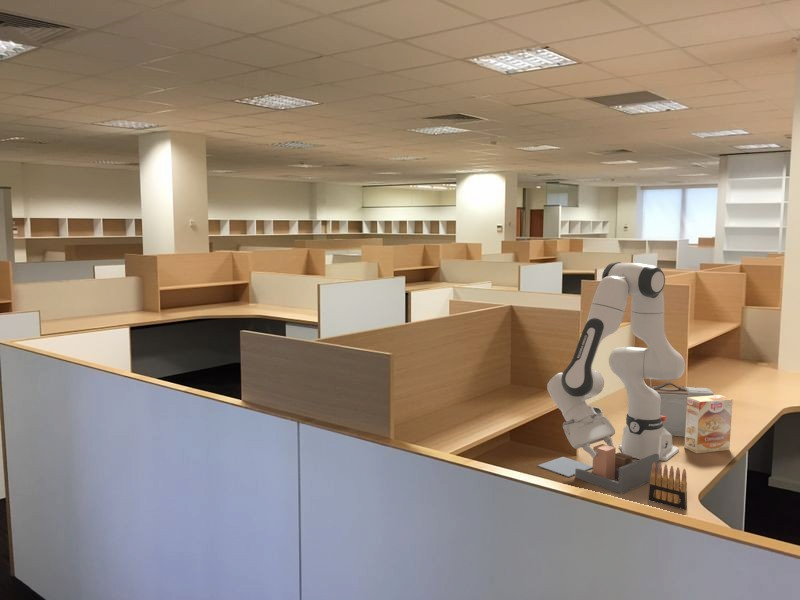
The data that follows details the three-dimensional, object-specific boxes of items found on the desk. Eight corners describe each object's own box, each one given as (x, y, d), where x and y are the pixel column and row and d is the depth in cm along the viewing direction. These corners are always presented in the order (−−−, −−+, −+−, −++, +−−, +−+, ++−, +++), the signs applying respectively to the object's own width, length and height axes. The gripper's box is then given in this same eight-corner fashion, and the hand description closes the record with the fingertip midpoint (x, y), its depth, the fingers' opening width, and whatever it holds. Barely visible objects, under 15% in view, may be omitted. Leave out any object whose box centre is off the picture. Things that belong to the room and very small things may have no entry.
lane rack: (612, 463, 230) (612, 441, 229) (657, 478, 217) (658, 454, 216) (575, 477, 217) (575, 454, 216) (621, 493, 204) (622, 468, 203)
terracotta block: (601, 476, 219) (602, 443, 217) (614, 480, 215) (615, 447, 213) (592, 479, 215) (593, 447, 214) (605, 484, 212) (606, 451, 210)
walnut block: (618, 469, 225) (619, 452, 224) (631, 473, 221) (632, 456, 220) (610, 472, 222) (610, 455, 221) (623, 477, 218) (623, 459, 217)
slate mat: (562, 457, 236) (562, 456, 236) (593, 467, 226) (593, 466, 226) (537, 466, 227) (537, 465, 227) (568, 477, 217) (568, 476, 217)
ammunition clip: (648, 500, 199) (649, 461, 198) (650, 498, 201) (652, 460, 199) (684, 509, 192) (686, 470, 191) (687, 507, 194) (688, 468, 192)
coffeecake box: (697, 453, 240) (699, 401, 238) (683, 447, 247) (686, 396, 245) (730, 450, 245) (733, 398, 243) (716, 444, 251) (719, 394, 249)
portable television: (711, 438, 258) (715, 363, 255) (647, 434, 263) (651, 360, 260) (704, 429, 270) (707, 357, 267) (643, 425, 275) (646, 355, 272)
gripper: (566, 417, 212) (591, 455, 206) (603, 407, 225) (628, 442, 218) (554, 428, 216) (578, 465, 209) (592, 417, 229) (615, 452, 222)
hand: (604, 453), depth 214 cm, fingers open, 8 cm apart
